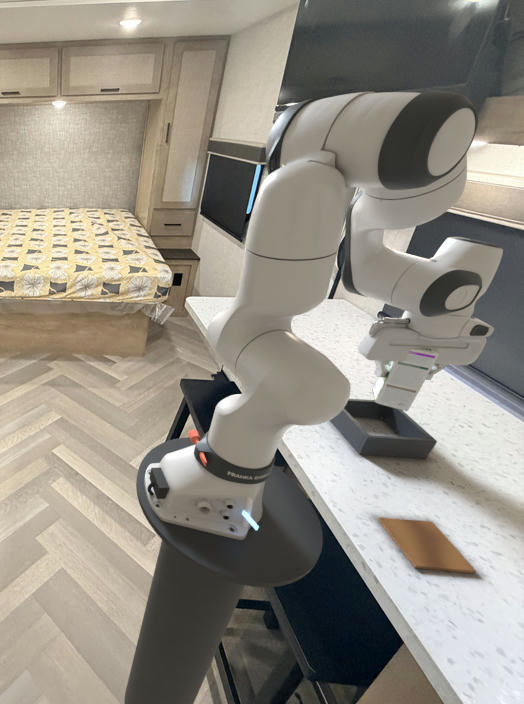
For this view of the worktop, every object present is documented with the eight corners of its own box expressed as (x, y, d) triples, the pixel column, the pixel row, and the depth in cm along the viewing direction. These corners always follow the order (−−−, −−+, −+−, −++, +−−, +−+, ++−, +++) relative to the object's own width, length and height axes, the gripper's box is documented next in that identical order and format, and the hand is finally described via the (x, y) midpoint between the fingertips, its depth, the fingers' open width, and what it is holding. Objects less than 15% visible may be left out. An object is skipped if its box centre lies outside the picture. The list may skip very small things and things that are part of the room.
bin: (358, 454, 87) (367, 437, 85) (324, 413, 99) (331, 397, 97) (426, 458, 86) (437, 441, 83) (383, 416, 98) (391, 400, 95)
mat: (414, 568, 65) (415, 565, 65) (377, 519, 73) (378, 517, 73) (474, 573, 64) (476, 571, 64) (430, 523, 72) (432, 521, 72)
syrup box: (408, 412, 84) (442, 354, 77) (373, 402, 87) (403, 346, 80) (403, 398, 88) (435, 341, 81) (370, 389, 91) (398, 334, 84)
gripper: (387, 324, 76) (358, 382, 83) (504, 329, 74) (466, 389, 81) (365, 310, 82) (340, 366, 88) (474, 314, 80) (440, 371, 86)
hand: (401, 377), depth 85 cm, fingers closed on syrup box, 7 cm apart
